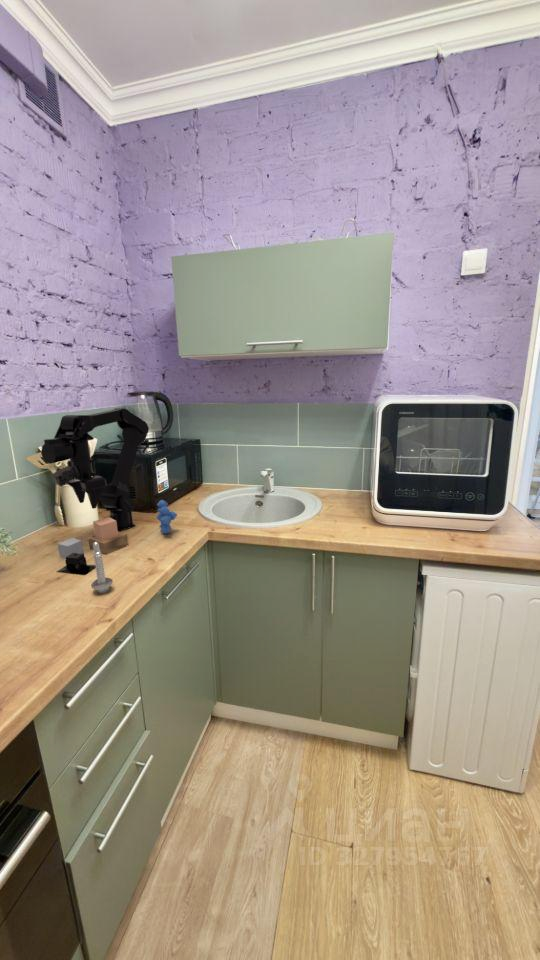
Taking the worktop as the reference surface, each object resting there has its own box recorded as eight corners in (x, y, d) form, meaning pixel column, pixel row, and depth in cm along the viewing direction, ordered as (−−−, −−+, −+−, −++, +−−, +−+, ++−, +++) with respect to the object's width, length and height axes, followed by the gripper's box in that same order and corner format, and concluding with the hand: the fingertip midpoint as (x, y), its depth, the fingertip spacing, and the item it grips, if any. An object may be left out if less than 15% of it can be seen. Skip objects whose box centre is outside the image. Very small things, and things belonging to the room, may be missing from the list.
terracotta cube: (111, 532, 125) (109, 517, 124) (118, 536, 121) (116, 520, 120) (95, 536, 121) (92, 521, 120) (102, 541, 118) (99, 525, 117)
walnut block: (112, 541, 128) (111, 529, 127) (128, 546, 124) (126, 534, 123) (90, 550, 122) (88, 538, 121) (105, 556, 117) (103, 543, 116)
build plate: (105, 567, 111) (102, 551, 110) (87, 580, 104) (84, 564, 103) (68, 562, 114) (65, 548, 113) (48, 575, 107) (45, 559, 106)
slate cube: (74, 551, 120) (71, 537, 119) (83, 554, 118) (81, 540, 117) (60, 557, 117) (57, 543, 116) (70, 560, 115) (67, 546, 113)
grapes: (181, 537, 128) (178, 502, 124) (160, 541, 125) (155, 505, 122) (176, 525, 138) (173, 492, 135) (156, 528, 136) (152, 495, 133)
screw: (112, 594, 96) (90, 597, 95) (114, 584, 100) (94, 587, 99) (104, 544, 92) (82, 547, 91) (107, 536, 97) (86, 539, 96)
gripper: (40, 457, 121) (49, 506, 125) (64, 465, 109) (73, 519, 113) (77, 451, 129) (85, 497, 133) (103, 458, 117) (111, 508, 121)
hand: (87, 505), depth 125 cm, fingers open, 9 cm apart
